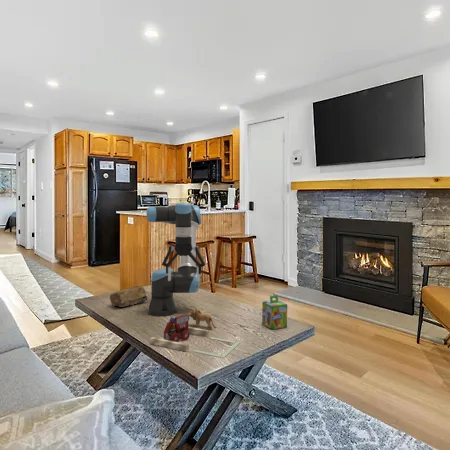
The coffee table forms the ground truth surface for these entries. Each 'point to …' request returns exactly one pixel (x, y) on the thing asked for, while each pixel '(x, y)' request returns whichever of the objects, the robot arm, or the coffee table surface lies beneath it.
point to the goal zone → (217, 354)
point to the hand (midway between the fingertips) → (183, 280)
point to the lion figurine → (200, 317)
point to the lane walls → (176, 344)
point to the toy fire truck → (177, 328)
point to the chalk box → (274, 313)
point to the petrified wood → (128, 296)
